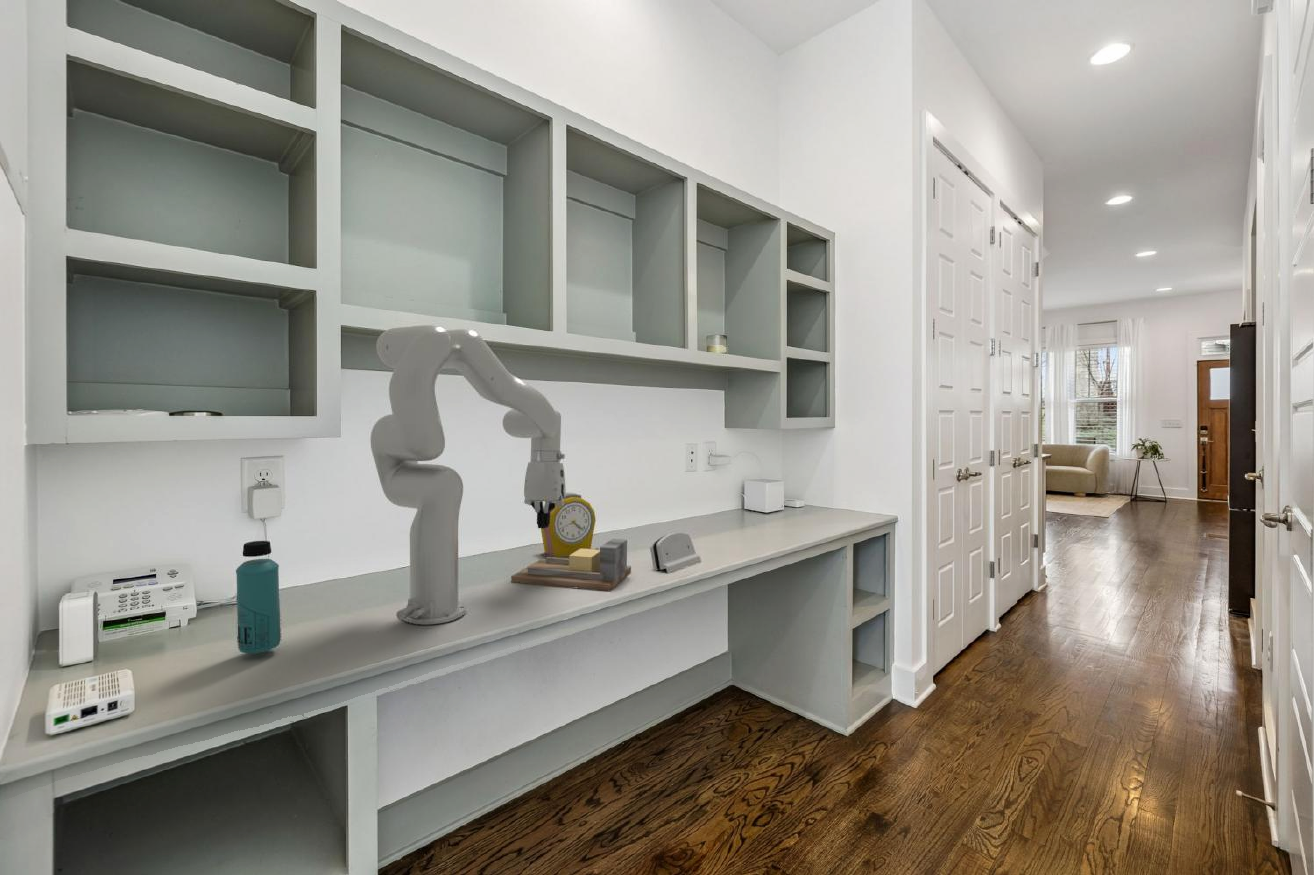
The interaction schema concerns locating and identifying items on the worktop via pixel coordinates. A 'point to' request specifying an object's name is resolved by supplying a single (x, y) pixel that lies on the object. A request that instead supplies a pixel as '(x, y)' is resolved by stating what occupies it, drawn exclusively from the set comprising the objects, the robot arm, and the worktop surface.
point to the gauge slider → (585, 560)
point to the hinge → (673, 552)
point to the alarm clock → (569, 527)
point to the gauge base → (559, 574)
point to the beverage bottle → (258, 600)
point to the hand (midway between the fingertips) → (543, 527)
